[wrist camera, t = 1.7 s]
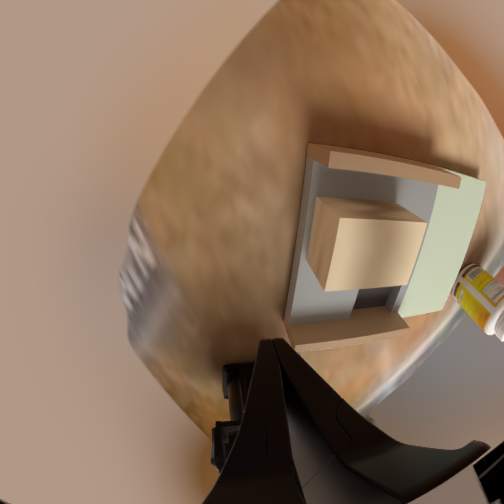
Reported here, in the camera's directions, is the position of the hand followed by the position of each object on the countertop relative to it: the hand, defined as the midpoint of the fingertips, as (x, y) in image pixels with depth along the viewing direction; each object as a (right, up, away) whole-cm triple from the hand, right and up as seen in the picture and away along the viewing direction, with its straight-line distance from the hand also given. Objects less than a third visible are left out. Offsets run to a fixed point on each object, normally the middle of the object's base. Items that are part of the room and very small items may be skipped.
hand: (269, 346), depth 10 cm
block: (+7, +5, +10) cm, 13 cm away
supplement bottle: (+27, 0, +18) cm, 32 cm away
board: (+13, +4, +13) cm, 19 cm away
